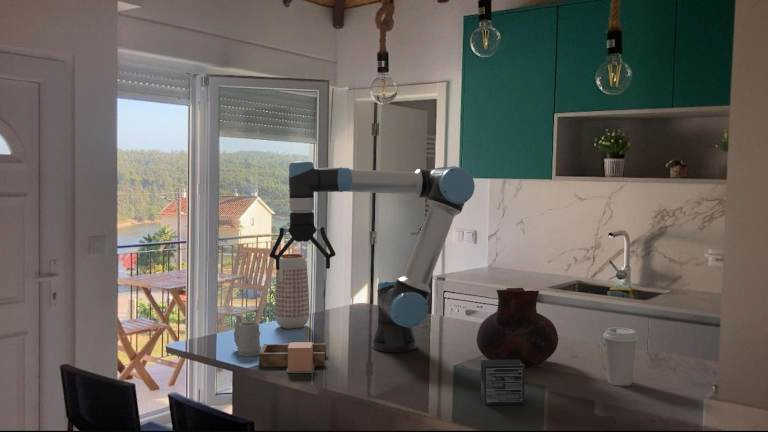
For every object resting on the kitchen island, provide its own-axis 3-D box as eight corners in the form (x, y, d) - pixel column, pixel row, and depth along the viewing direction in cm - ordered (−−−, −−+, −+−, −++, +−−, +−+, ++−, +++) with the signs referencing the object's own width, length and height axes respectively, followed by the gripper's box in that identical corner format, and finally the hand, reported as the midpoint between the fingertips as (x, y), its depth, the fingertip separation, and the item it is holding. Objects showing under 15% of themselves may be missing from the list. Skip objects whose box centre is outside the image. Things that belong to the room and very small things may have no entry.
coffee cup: (609, 375, 205) (610, 325, 204) (642, 381, 199) (643, 330, 198) (596, 383, 198) (597, 331, 197) (630, 389, 192) (631, 336, 191)
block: (311, 370, 207) (311, 347, 207) (287, 371, 207) (287, 348, 207) (312, 364, 214) (312, 342, 214) (290, 364, 214) (289, 342, 214)
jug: (558, 357, 226) (560, 280, 224) (556, 378, 202) (557, 293, 200) (482, 351, 233) (482, 277, 231) (470, 372, 208) (471, 289, 207)
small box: (519, 397, 185) (519, 358, 185) (525, 405, 179) (525, 365, 178) (480, 397, 185) (480, 358, 184) (484, 405, 178) (484, 365, 178)
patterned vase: (272, 324, 274) (271, 253, 273) (305, 322, 278) (305, 252, 277) (277, 331, 262) (277, 257, 260) (312, 329, 266) (312, 256, 264)
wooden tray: (326, 355, 227) (326, 343, 227) (324, 365, 215) (324, 353, 215) (264, 356, 227) (264, 344, 226) (258, 366, 214) (258, 353, 214)
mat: (314, 366, 215) (314, 364, 215) (313, 372, 208) (313, 370, 208) (288, 366, 214) (288, 364, 214) (286, 373, 207) (286, 371, 207)
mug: (246, 357, 225) (246, 321, 224) (225, 351, 233) (225, 315, 232) (265, 353, 230) (265, 317, 230) (244, 347, 238) (244, 312, 238)
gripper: (342, 210, 219) (343, 277, 221) (262, 211, 218) (264, 278, 219) (342, 211, 212) (343, 280, 213) (259, 212, 210) (261, 282, 212)
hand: (303, 279), depth 216 cm, fingers open, 13 cm apart
